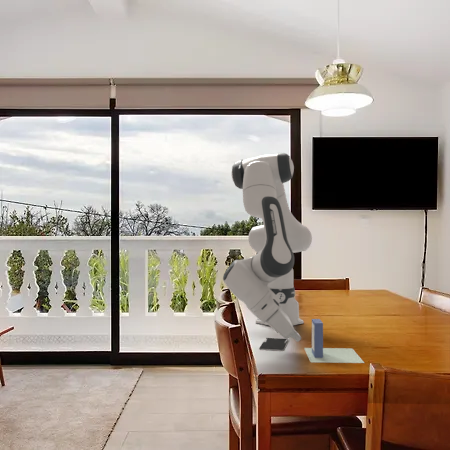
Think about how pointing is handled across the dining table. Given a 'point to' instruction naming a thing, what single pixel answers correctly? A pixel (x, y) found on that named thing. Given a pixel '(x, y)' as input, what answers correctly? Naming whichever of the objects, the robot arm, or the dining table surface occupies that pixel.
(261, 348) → the smartphone
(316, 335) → the box
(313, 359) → the mat
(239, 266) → the robot arm
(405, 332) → the dining table surface
